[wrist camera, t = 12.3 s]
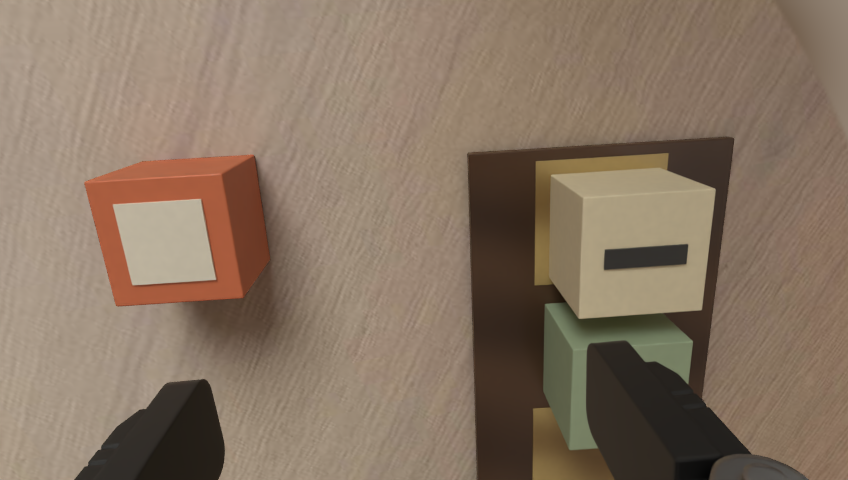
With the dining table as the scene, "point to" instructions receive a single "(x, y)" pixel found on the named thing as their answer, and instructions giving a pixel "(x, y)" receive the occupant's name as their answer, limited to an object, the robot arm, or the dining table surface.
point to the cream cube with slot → (629, 241)
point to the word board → (554, 293)
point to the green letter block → (569, 355)
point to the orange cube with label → (180, 229)
